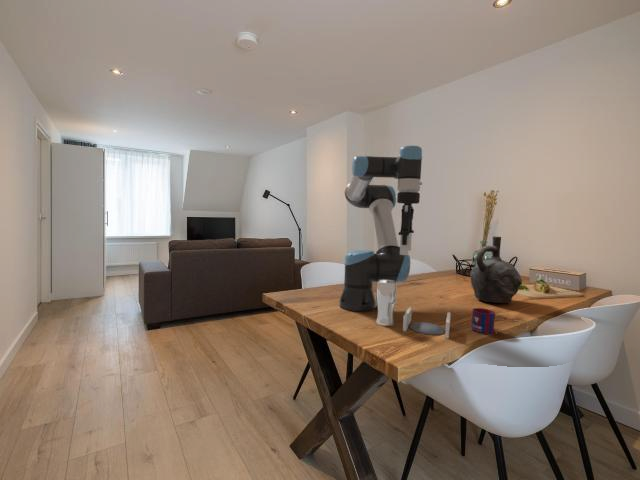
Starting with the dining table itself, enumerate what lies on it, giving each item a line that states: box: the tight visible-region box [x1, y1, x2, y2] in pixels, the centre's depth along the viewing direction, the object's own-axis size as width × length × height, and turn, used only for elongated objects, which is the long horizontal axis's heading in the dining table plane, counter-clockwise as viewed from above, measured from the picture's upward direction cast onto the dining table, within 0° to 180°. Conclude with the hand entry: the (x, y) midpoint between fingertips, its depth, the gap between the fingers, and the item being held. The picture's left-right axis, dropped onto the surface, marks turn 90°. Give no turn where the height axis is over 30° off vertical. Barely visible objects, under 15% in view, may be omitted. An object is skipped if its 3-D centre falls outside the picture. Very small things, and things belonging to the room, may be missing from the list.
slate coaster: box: [409, 321, 445, 336], centre depth 108 cm, size 11×11×1 cm
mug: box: [471, 307, 496, 335], centre depth 108 cm, size 7×10×7 cm
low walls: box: [402, 306, 452, 339], centre depth 108 cm, size 14×12×5 cm
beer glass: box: [375, 279, 397, 327], centre depth 112 cm, size 7×7×15 cm
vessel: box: [469, 236, 523, 304], centre depth 146 cm, size 24×22×30 cm
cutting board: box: [514, 278, 583, 300], centre depth 169 cm, size 35×23×8 cm
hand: (405, 252), depth 113 cm, fingers open, 13 cm apart
